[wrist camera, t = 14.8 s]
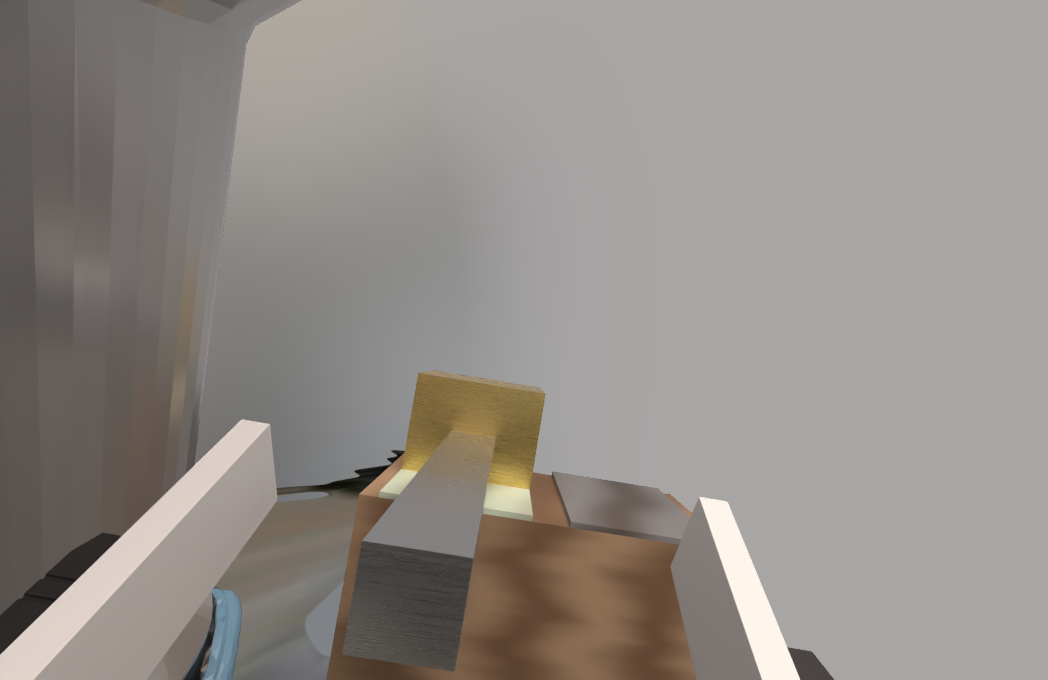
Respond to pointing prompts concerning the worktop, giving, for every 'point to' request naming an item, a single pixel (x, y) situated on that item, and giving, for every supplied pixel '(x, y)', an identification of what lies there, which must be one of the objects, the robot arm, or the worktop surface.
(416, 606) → the handle bar
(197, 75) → the robot arm
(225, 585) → the worktop surface
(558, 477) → the wood grain box
